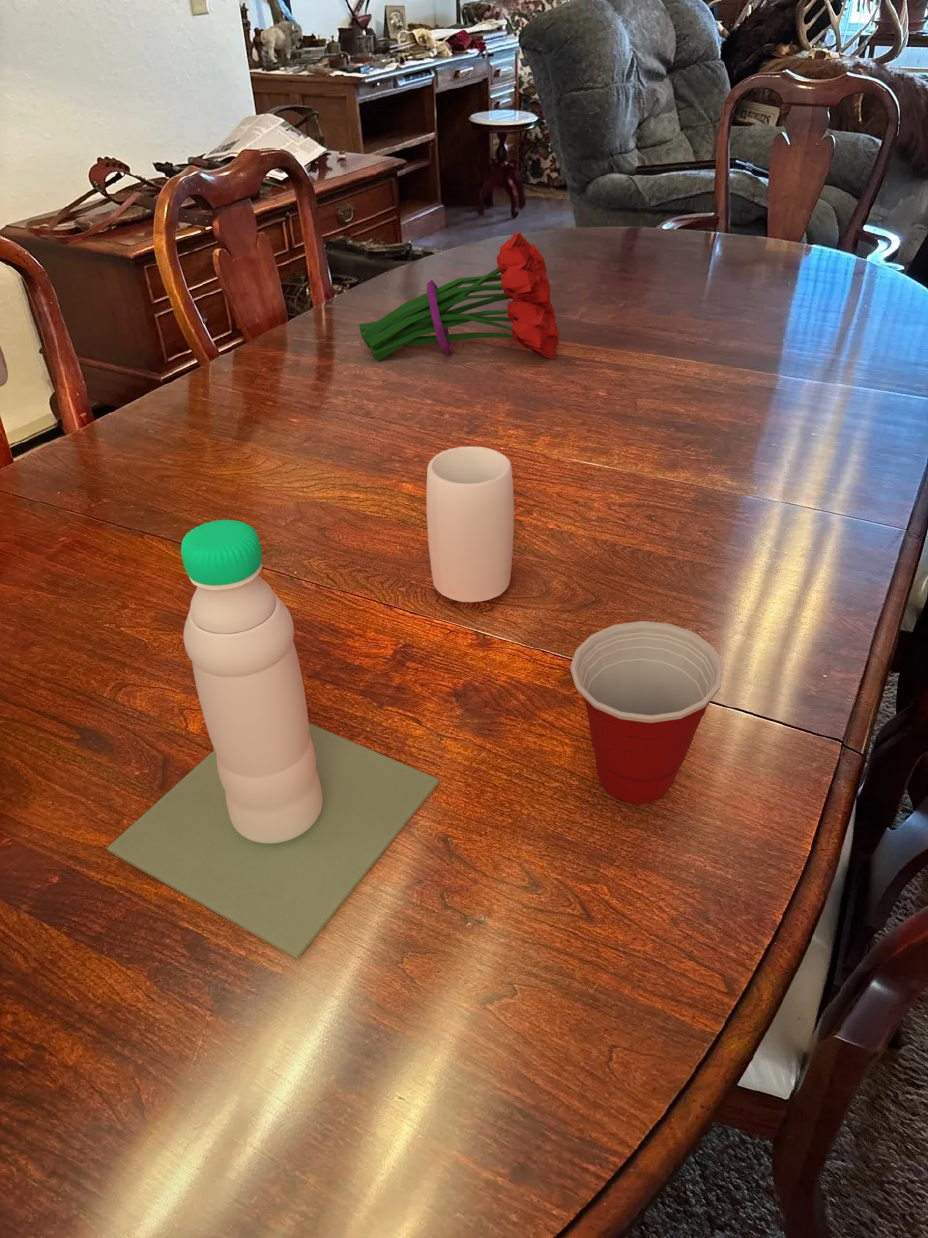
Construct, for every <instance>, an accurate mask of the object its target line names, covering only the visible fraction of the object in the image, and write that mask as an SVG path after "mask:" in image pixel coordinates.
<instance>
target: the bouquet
mask: <svg viewBox="0 0 928 1238" xmlns="http://www.w3.org/2000/svg"><path fill="white" fill-rule="evenodd" d="M495 259H496V264H497V267H496V268H495V269H494V270H491V271H490V272H489V273H487V274H485V275H480V276H469V277H458V278H456V279H454V280H451V281H450V282H448V283H446V284H443V285H442V286H439V287H438V285H437V284H436V283H435V281H434V280H433V279H431V280H429V281H428V282H427V283H426V285H427V286H426V293H423V294H422V295H419V296H417V297H415V298H412V299H410V300H407V301H406V302H405V303H403V304H401V305H400V306H399V307H397V308H395V309H394V310H392V311H390V312H389V313H388V314H385V316H382V317H381V318H380V319H378V320H377V321H370V322H365V323H358V326H359V331H360V335H361V338H362V339H363V342H364V343H365V346H366V347H367V349H369V350H370V351H371V354H372V356H373V357H374V358H375V360H376V361H377V362H380V361H382V360H384V359H385V358H386V357H387V356H390V355H392V354H393V353H395V352H396V351H398V350H399V349H401V348H406V347H416V346H425V345H431V344H438V345H439V347H440V349H441V352H442V354H443V355H449V354H450V353H452V342H456V341H463V340H471V339H505V338H506V339H512V340H513V341H515V342H517V343H518V344H519V345H520V346H521V347H522V348H525V349H528V350H530V351H531V352H532V353H533V354H534V355H536V356H540V357H545V358H548V359H552V360H553V359H554V356H555V354H556V350H557V349H558V345H559V338H560V331H559V329H558V326H557V322H556V312H555V309H554V306H553V303H552V301H551V299H550V297H551V291H552V289H551V285H550V284H551V283H550V280H549V277H548V276H547V269H548V268H547V266H546V263H545V258H544V256H543V254H542V253H541V252H540V250H539V248H537V246H536V243H533V244H531V243H530V242H529V241H528V240H527V239H526V237H525V236H523V235H522V233H521V232H517V230H515V232H514V233H513V234H512V236H511V237H510V238H509V239H507V240H506V241H505V242H504V243H503V244H502V245H501V246H499V253H498V255H497V256H496V257H495ZM500 281H501V283H497V284H495V283H494V284H493V282H500ZM485 283H492V284H485ZM463 285H469V286H463ZM483 291H503V293H489V294H488V293H487V294H474V293H478V292H483ZM470 294H471V295H470ZM478 299H482V300H479V301H475V302H471V303H468V304H464V305H462V306H458V307H455V308H453V307H454V306H456V305H458V304H460V303H462V302H465V301H468V300H478ZM511 299H512V301H510V300H511ZM506 300H509V301H508V302H507V307H506V308H507V309H503V310H499V309H497V310H496V309H495V310H493V309H492V310H491V309H490V310H482V311H475V312H468V311H470V310H474V309H477V308H480V307H483V306H487V305H489V304H493V303H496V302H500V301H506ZM465 312H467V313H465ZM505 314H507V316H508V317H506V316H495V315H505ZM493 315H494V316H493ZM469 322H476V323H480V324H485V325H488V326H492V327H494V326H495V327H498V328H502V329H506V330H511V334H510V333H507V332H484V331H483V332H482V331H481V332H480V331H475V332H473V331H472V332H462V333H449V328H452V327H455V326H459V325H463V324H466V323H469ZM498 322H509V323H512V326H509V325H505V324H503V323H498ZM433 333H435V334H433ZM429 334H432V335H429Z"/></svg>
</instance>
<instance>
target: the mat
mask: <svg viewBox="0 0 928 1238" xmlns="http://www.w3.org/2000/svg"><path fill="white" fill-rule="evenodd" d="M308 724H309V734H310V736H311V739H312V742H313V746H314V750H315V757H316V771H317V773H318V776H319V780H320V784H321V789H322V796H323V804H322V809H321V812H320V815H319V817H318V818H317V820H316V821H315V823H314V824H313V825H312V826H311V827H310V828H309V829H308V830H307V831H305V832H304V833H302V834H301V835H299V836H297V837H295V838H293V839H291V840H288V841H285V842H280V843H271V844H267V843H258V842H255V841H251V840H249V839H247V838H245V837H243V836H242V835H241V834H240V833H238V831H237V830H236V829H235V828H234V826H233V824H232V822H231V819H230V816H229V812H228V808H227V803H226V794H225V789H224V787H223V785H222V783H221V780H220V777H219V773H218V768H217V755H216V752H215V750H214V749H213V750H212V751H211V752H210V753H209V754H208V755H207V756H206V757H205V758H203V759H202V760H201V761H200V762H199V763H198V764H197V765H196V766H195V767H194V768H193V769H191V770H190V771H189V772H188V773H187V774H186V775H185V776H184V777H183V778H181V780H180V781H178V782H177V783H176V784H175V785H174V786H173V787H172V788H171V789H170V790H169V791H167V792H166V793H165V794H164V795H163V796H162V797H161V798H160V799H158V801H156V802H155V803H154V804H153V805H152V806H151V807H150V808H149V809H148V810H146V811H145V812H144V813H143V814H142V815H141V816H140V817H139V818H138V819H137V820H136V821H134V823H132V824H131V825H130V826H129V827H128V828H127V829H126V830H125V831H123V832H122V833H121V834H120V835H119V836H118V837H117V838H116V839H115V840H114V841H113V842H112V843H111V844H109V846H107V847H106V850H107V852H108V853H110V854H112V855H114V856H115V857H117V858H119V860H122V861H124V862H125V863H127V864H129V865H131V866H133V867H134V868H136V869H138V870H139V871H141V872H143V873H144V874H147V876H150V877H152V878H153V879H155V880H157V881H159V882H161V883H162V884H164V885H166V886H167V887H169V888H171V889H173V890H175V891H176V892H178V893H180V894H181V895H183V896H185V897H187V898H189V899H190V900H192V901H193V902H196V904H197V903H198V904H199V905H200V906H202V907H204V908H205V909H208V910H210V911H211V912H212V913H214V914H217V915H218V916H220V917H222V918H223V919H226V920H227V921H229V922H231V923H232V924H234V925H236V926H238V927H240V928H241V929H242V930H245V931H247V932H248V933H249V934H252V935H253V936H255V937H257V938H259V939H261V940H262V941H264V942H266V943H268V944H269V945H271V946H272V947H274V948H275V949H278V950H280V951H282V952H284V953H285V954H287V955H288V956H290V957H292V958H294V959H296V960H299V959H300V958H301V957H302V955H303V954H304V952H305V951H306V950H307V949H308V948H309V946H310V945H311V944H312V942H313V941H314V940H315V939H316V938H317V937H318V935H319V934H320V933H321V931H322V930H323V929H324V928H325V926H326V925H327V924H328V923H329V922H330V920H331V919H332V918H333V916H334V915H335V914H336V913H337V912H338V910H339V909H340V908H341V907H342V905H343V904H344V903H345V901H346V900H347V899H348V897H349V896H351V894H352V893H353V891H354V890H355V889H356V888H357V887H358V885H359V884H360V883H361V882H362V880H363V879H364V878H365V876H366V875H367V874H368V873H369V871H370V870H372V868H373V867H374V866H375V865H376V863H377V862H378V860H379V859H380V858H381V856H382V855H383V854H384V853H385V852H386V850H388V848H389V847H390V846H391V844H392V843H393V842H394V840H395V839H397V837H398V835H399V834H400V833H401V832H402V830H404V828H405V827H406V826H407V824H408V823H409V822H410V821H411V819H412V818H413V817H414V816H415V815H416V813H417V812H418V810H419V809H420V808H421V807H422V806H423V804H425V802H426V801H427V799H428V798H429V797H430V796H431V794H432V793H433V792H434V790H436V788H437V787H438V786H439V784H440V783H441V780H440V778H437V777H435V776H432V775H430V774H428V773H426V772H423V771H421V770H419V769H416V768H414V767H412V766H409V765H408V764H405V763H402V762H401V761H398V760H396V759H393V758H391V757H389V756H387V755H383V754H382V753H380V752H377V751H375V750H372V749H371V748H368V747H365V746H363V745H361V744H358V743H356V742H354V741H352V740H350V739H347V738H345V737H342V736H340V735H338V734H336V733H333V732H331V731H330V730H327V729H324V728H322V727H319V726H317V725H315V724H312V723H310V722H308Z"/></svg>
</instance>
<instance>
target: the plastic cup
mask: <svg viewBox="0 0 928 1238" xmlns="http://www.w3.org/2000/svg"><path fill="white" fill-rule="evenodd" d="M569 669H570V672H571V676H572V679H573V682H574V686H575V688H576V690H577V692H578V693H579V694H580V695H581V696H582V697H583V699H584V703H585V706H586V713H587V719H588V727H589V732H590V739H591V744H592V749H593V752H594V758H595V767H596V772H597V776H598V779H599V781H600V785H601V786H602V788H603V789H604V790H605V791H606V792H607V793H608V794H609V795H610V796H612V797H614V798H615V799H617V800H619V801H621V802H623V803H627V804H634V805H642V804H643V805H645V804H651V803H654V802H656V801H657V800H660V799H663V797H664V796H665V794H666V793H667V792H668V791H669V790H670V788H671V787H672V785H674V782H675V780H676V777H677V775H678V773H679V770H680V768H681V766H682V765H683V764H684V762H685V759H686V757H687V754H688V752H689V749H690V747H691V744H692V742H693V740H694V737H695V735H696V732H697V730H698V727H699V725H700V723H701V720H702V718H703V717H704V715H705V713H706V710H707V707H708V706H709V705H710V702H711V701H712V699H713V698H714V697H715V696H716V695H717V693H718V692H719V691H720V689H721V687H722V683H723V682H722V681H723V675H724V663H723V662H722V660H721V658H720V656H719V654H718V652H717V650H716V648H715V647H714V646H713V645H712V644H710V643H709V642H708V641H706V640H705V639H704V638H702V637H701V636H700V635H699V634H698V633H696V632H694V631H691V630H688V629H686V628H683V627H680V626H679V625H678V626H677V625H675V624H672V623H668V622H667V623H666V622H657V621H656V622H655V621H647V620H639V621H632V622H624V623H618V624H613V625H611V626H608V627H606V628H603V629H601V630H599V631H597V632H594V633H592V634H591V635H589V637H587V638H586V639H585V640H584V641H583V642H582V643H581V644H580V645H579V646H578V647H577V648H576V649H575V652H574V655H573V658H572V661H571V663H570V667H569Z"/></svg>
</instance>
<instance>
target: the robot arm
mask: <svg viewBox="0 0 928 1238" xmlns="http://www.w3.org/2000/svg"><path fill="white" fill-rule="evenodd" d="M8 378H9V373H8V366H7V362H6V358H5V355H4V352H3V350H2V347H1V346H0V388H1V387H3V386H5V385H6V384H7V382H8V380H9V379H8Z"/></svg>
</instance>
